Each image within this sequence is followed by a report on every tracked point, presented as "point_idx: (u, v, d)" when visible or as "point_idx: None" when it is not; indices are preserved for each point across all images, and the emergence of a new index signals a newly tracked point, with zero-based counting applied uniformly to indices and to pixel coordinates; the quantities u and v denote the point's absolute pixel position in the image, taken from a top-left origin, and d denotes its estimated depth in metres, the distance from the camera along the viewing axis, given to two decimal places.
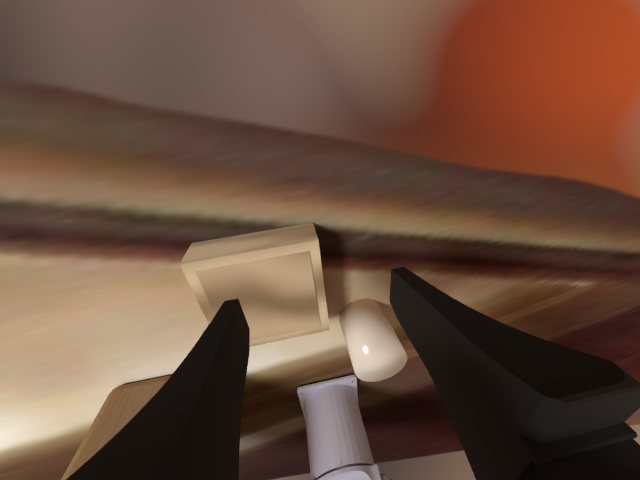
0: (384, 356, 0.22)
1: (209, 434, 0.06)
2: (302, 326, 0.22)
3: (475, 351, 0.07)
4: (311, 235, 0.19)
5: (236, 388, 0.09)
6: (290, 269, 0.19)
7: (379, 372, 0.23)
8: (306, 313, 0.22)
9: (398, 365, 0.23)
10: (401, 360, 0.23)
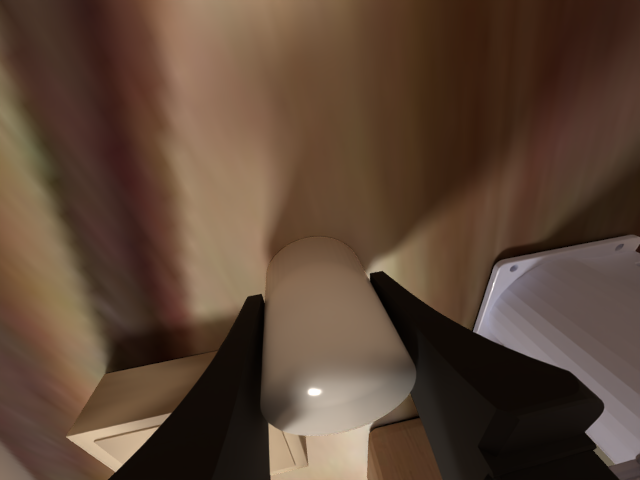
0: (302, 399, 0.07)
1: (247, 425, 0.07)
2: None
3: (439, 359, 0.07)
4: None
5: None
6: None
7: (374, 390, 0.08)
8: None
9: (359, 358, 0.07)
10: (336, 358, 0.07)
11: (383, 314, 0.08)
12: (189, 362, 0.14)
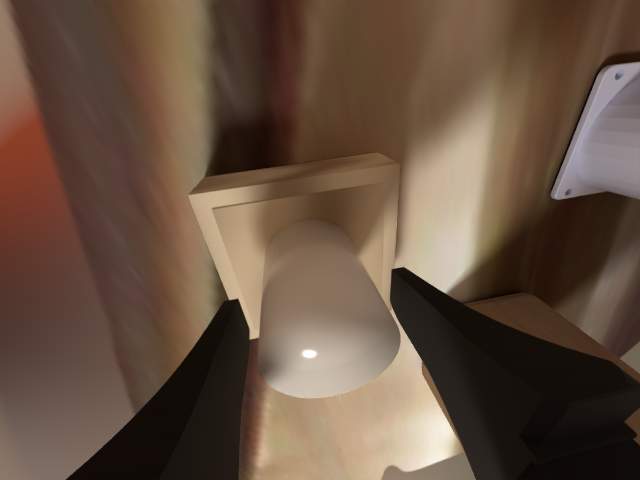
0: (296, 355, 0.08)
1: (209, 434, 0.06)
2: (375, 214, 0.13)
3: (475, 351, 0.07)
4: None
5: (236, 388, 0.09)
6: (249, 235, 0.12)
7: (362, 354, 0.09)
8: (346, 209, 0.12)
9: (352, 319, 0.08)
10: (333, 316, 0.08)
11: (375, 288, 0.09)
12: (289, 166, 0.14)
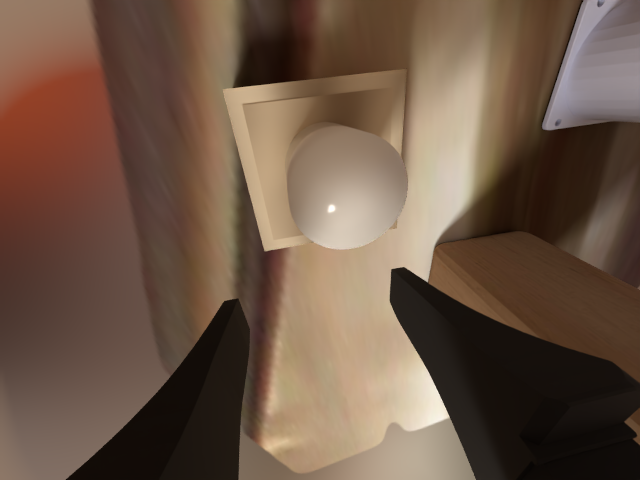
0: (320, 189, 0.10)
1: (209, 434, 0.06)
2: (383, 120, 0.15)
3: (475, 351, 0.07)
4: None
5: (236, 388, 0.09)
6: (273, 134, 0.14)
7: (374, 200, 0.10)
8: (358, 113, 0.14)
9: (369, 154, 0.09)
10: (354, 146, 0.09)
11: None
12: None
